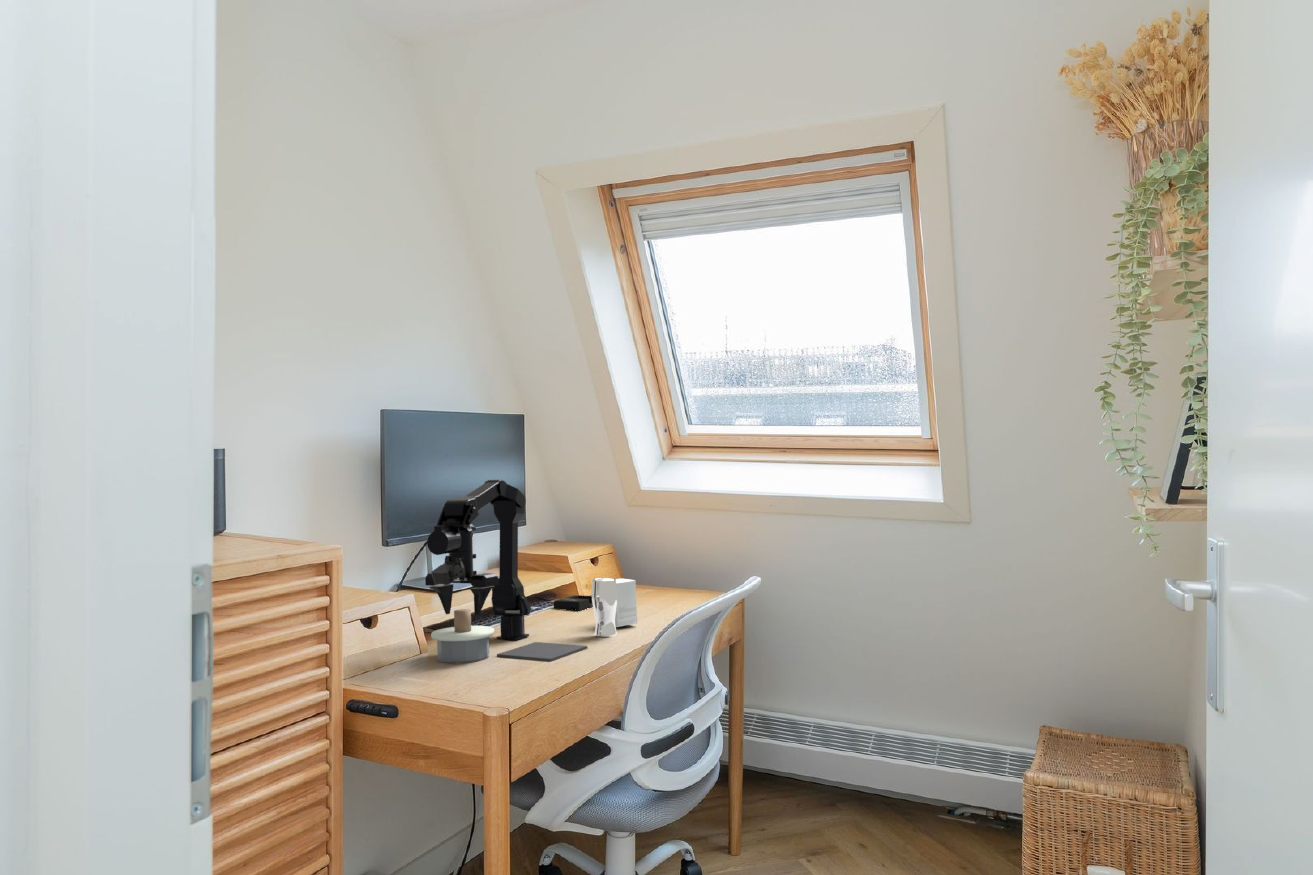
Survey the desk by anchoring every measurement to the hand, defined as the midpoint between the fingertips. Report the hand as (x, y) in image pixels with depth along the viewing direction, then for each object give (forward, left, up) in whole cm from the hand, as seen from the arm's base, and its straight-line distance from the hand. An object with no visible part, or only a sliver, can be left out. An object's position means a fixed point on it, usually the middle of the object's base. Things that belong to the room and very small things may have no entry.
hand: (462, 614), depth 222 cm
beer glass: (-37, +18, -11) cm, 43 cm away
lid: (0, 0, -5) cm, 5 cm away
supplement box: (-53, +13, -11) cm, 56 cm away
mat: (-12, +15, -10) cm, 22 cm away
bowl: (0, 0, -10) cm, 10 cm away
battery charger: (-72, -14, -11) cm, 75 cm away
